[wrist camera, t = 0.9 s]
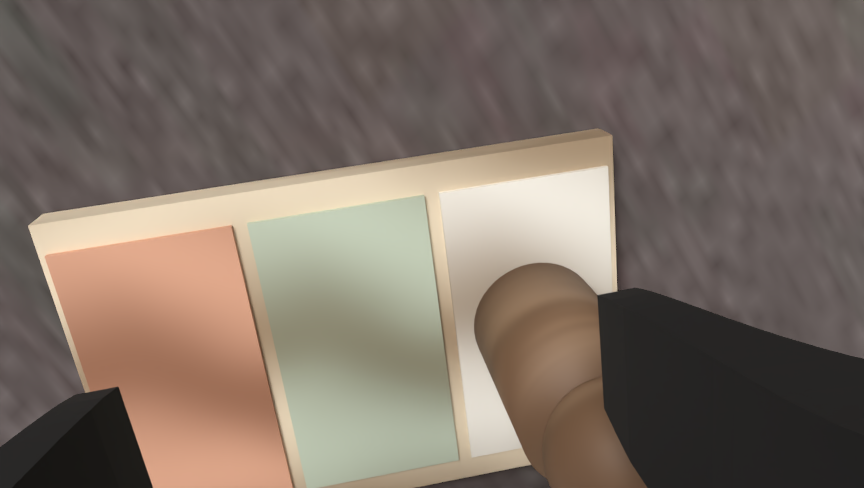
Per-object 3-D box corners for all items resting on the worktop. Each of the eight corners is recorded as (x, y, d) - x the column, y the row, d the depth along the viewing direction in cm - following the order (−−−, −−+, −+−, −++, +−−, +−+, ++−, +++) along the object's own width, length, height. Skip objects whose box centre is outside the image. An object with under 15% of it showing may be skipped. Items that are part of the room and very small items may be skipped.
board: (610, 428, 23) (624, 449, 22) (144, 519, 22) (135, 546, 21) (598, 128, 20) (614, 136, 19) (42, 213, 18) (25, 227, 17)
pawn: (598, 364, 21) (745, 563, 14) (480, 387, 21) (566, 602, 13) (593, 252, 20) (752, 406, 12) (467, 274, 19) (555, 445, 12)
